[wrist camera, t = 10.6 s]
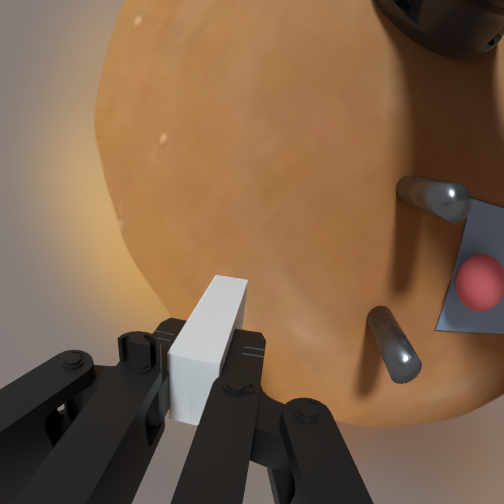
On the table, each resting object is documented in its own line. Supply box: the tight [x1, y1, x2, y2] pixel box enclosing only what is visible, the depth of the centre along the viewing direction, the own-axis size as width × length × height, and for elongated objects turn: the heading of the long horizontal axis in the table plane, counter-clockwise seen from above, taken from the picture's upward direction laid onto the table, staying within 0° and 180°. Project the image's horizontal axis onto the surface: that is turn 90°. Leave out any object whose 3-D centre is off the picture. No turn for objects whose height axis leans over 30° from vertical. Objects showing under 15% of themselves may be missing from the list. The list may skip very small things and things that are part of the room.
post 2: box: [396, 176, 471, 223], centre depth 22 cm, size 3×3×9 cm
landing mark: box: [435, 199, 504, 334], centre depth 27 cm, size 14×14×1 cm
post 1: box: [367, 306, 422, 384], centre depth 25 cm, size 3×3×9 cm
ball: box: [456, 254, 504, 312], centre depth 25 cm, size 6×6×6 cm
